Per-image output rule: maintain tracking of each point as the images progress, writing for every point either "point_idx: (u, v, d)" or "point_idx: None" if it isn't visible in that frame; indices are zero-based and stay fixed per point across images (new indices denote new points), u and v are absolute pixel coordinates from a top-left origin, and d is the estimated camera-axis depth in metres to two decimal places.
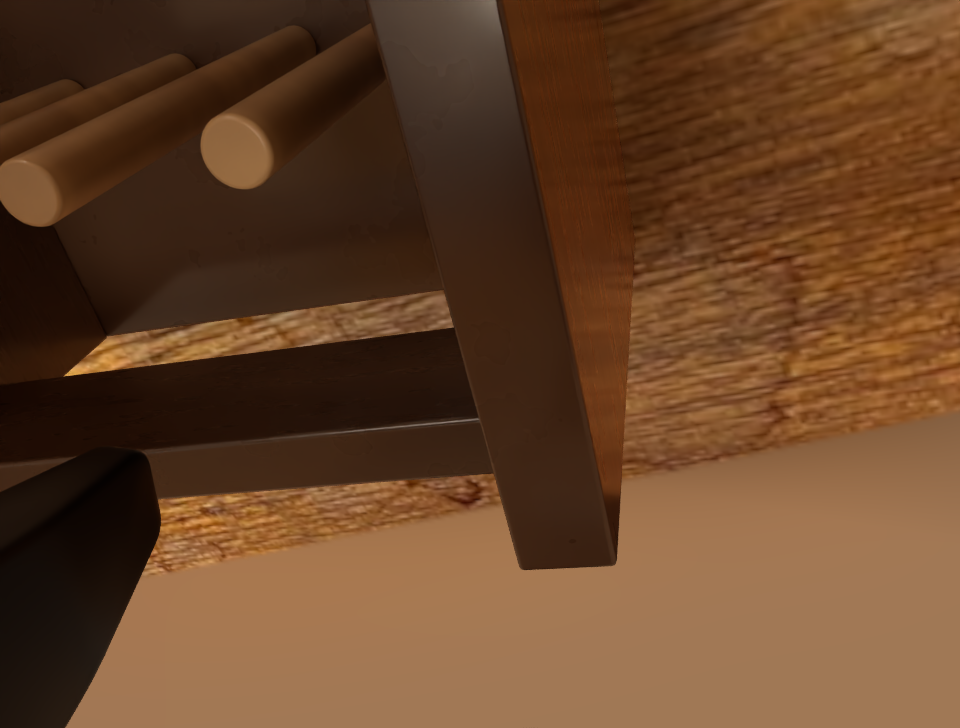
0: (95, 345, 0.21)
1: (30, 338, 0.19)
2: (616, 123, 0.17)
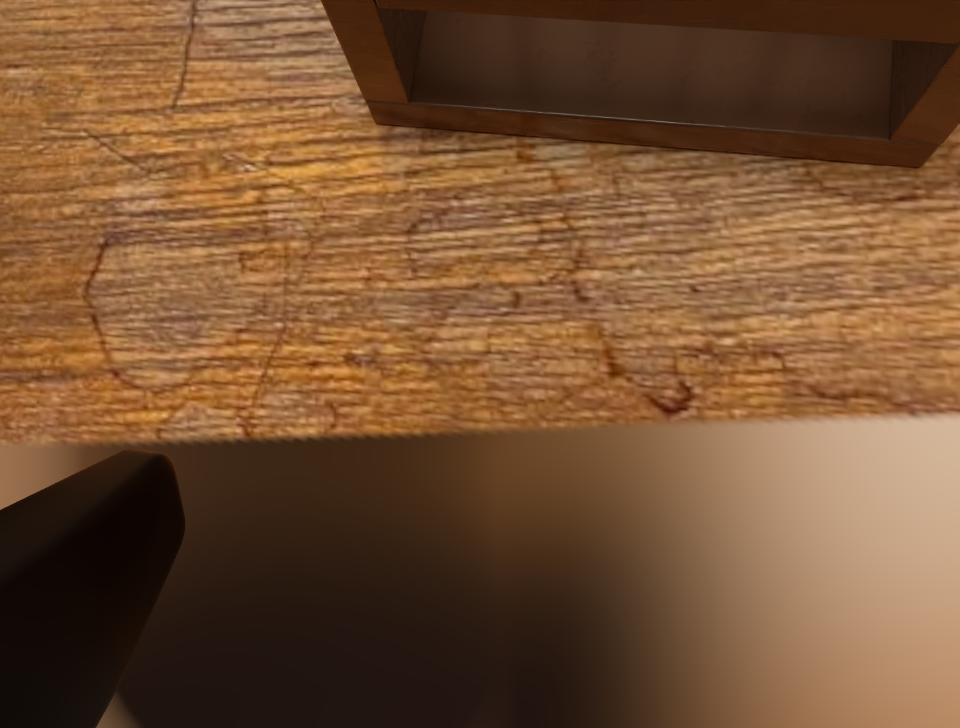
0: (405, 91, 0.21)
1: (400, 8, 0.20)
2: None
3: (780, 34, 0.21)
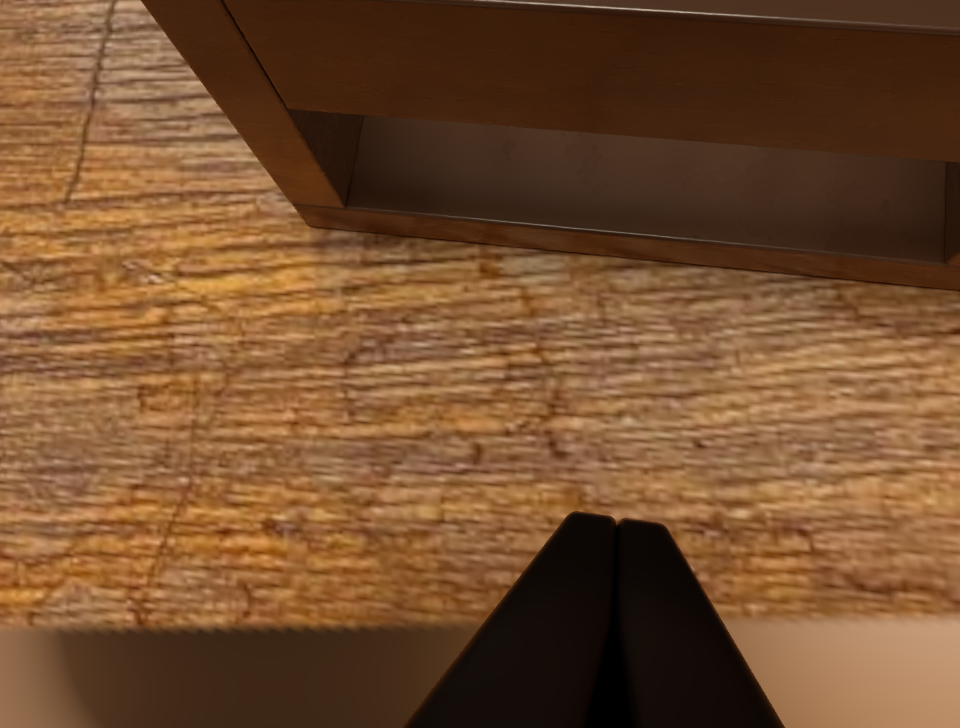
0: (339, 195, 0.17)
1: None
2: None
3: None
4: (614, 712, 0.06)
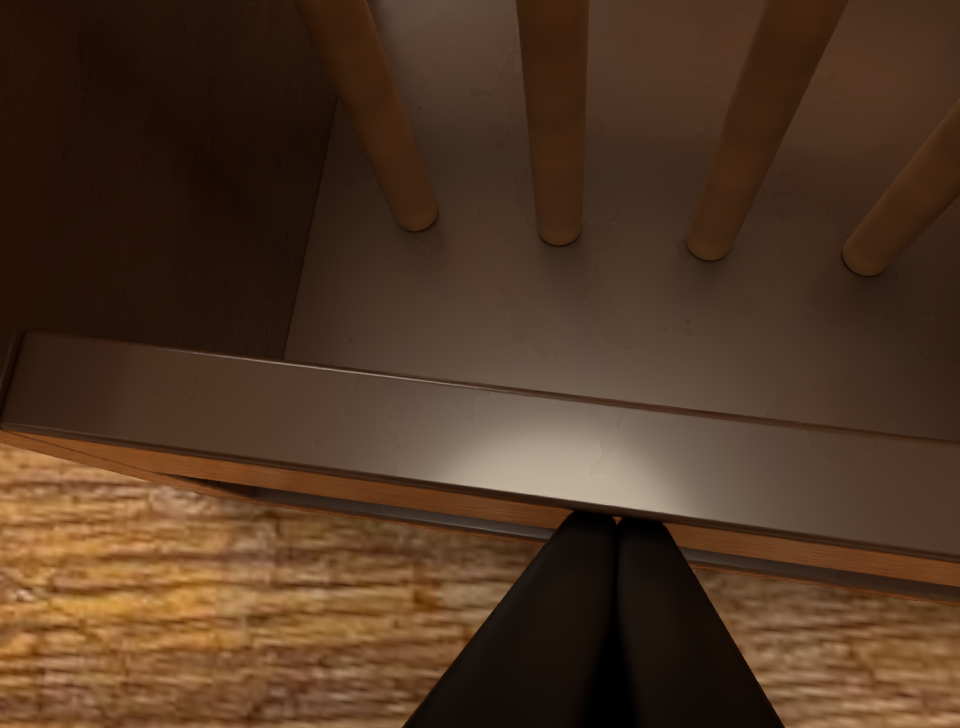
0: (242, 493, 0.14)
1: None
2: None
3: (811, 412, 0.14)
4: (614, 712, 0.06)
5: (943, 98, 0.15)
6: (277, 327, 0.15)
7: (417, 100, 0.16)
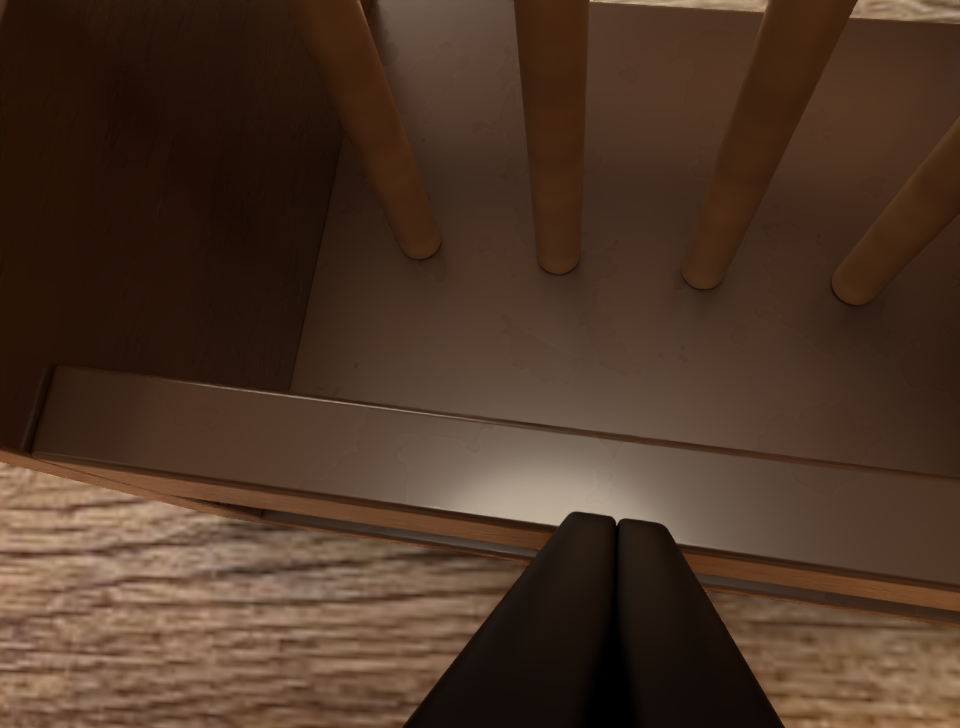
0: (251, 513, 0.14)
1: None
2: None
3: (801, 437, 0.14)
4: (614, 712, 0.06)
5: (928, 133, 0.16)
6: (285, 352, 0.15)
7: (421, 132, 0.17)
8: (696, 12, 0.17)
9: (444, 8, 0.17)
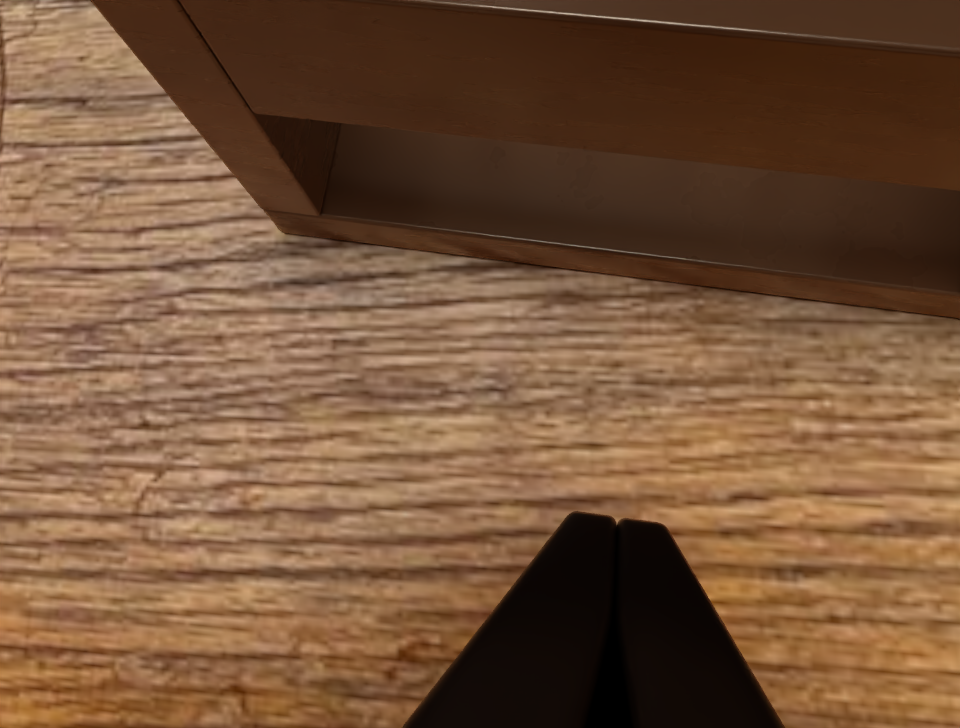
0: (313, 203, 0.16)
1: None
2: None
3: None
4: (614, 712, 0.06)
5: None
6: None
7: None
8: None
9: None
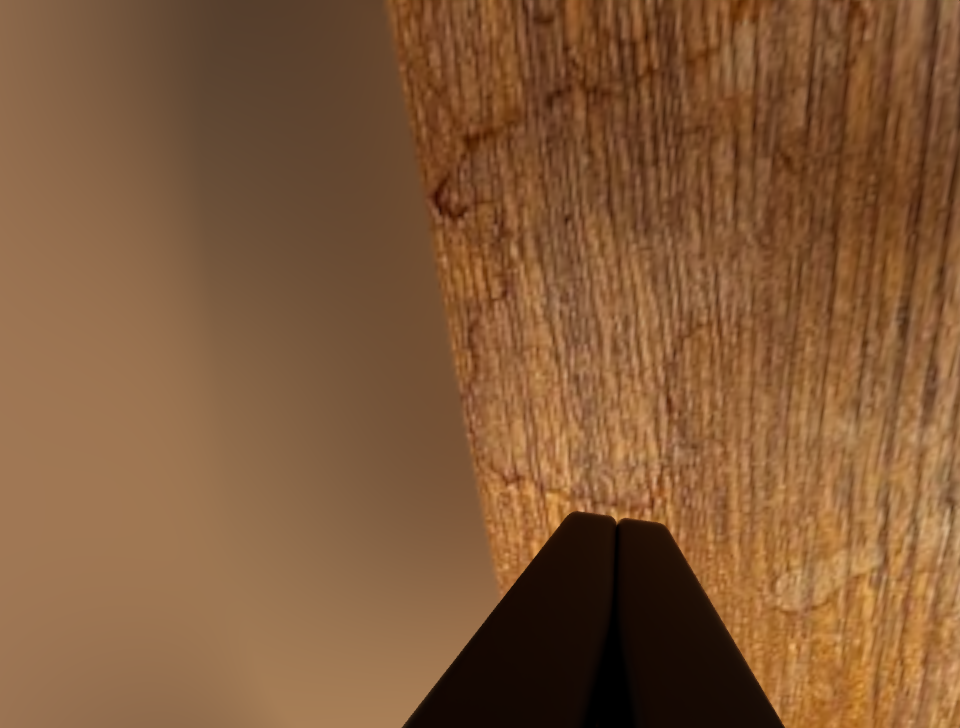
0: None
1: None
2: None
3: None
4: (613, 711, 0.06)
5: None
6: None
7: None
8: None
9: None
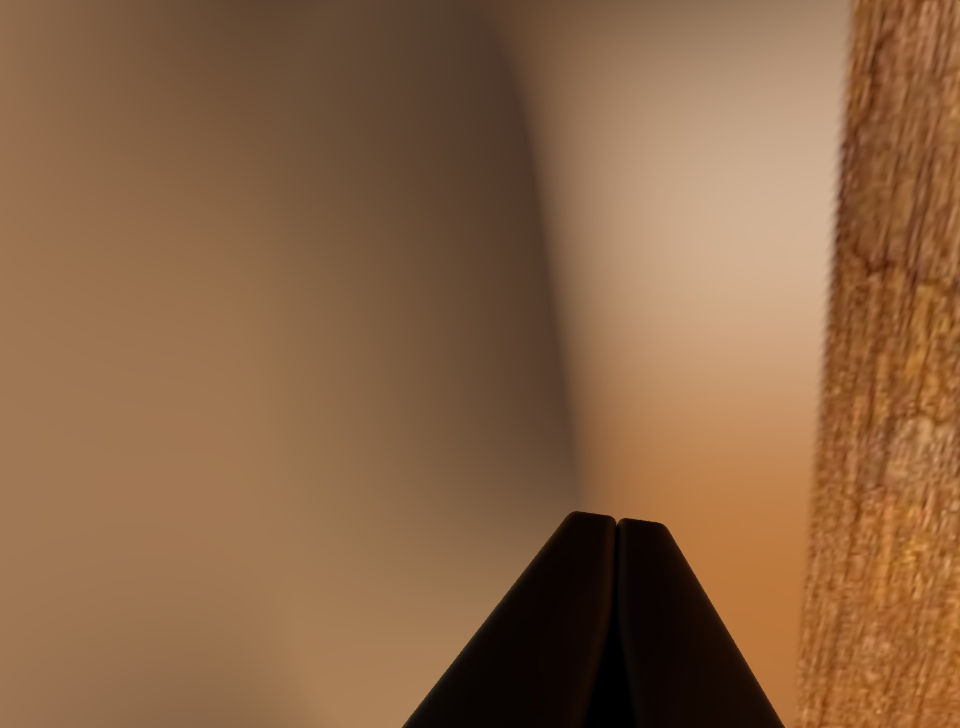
0: None
1: None
2: None
3: None
4: (614, 712, 0.06)
5: None
6: None
7: None
8: None
9: None
